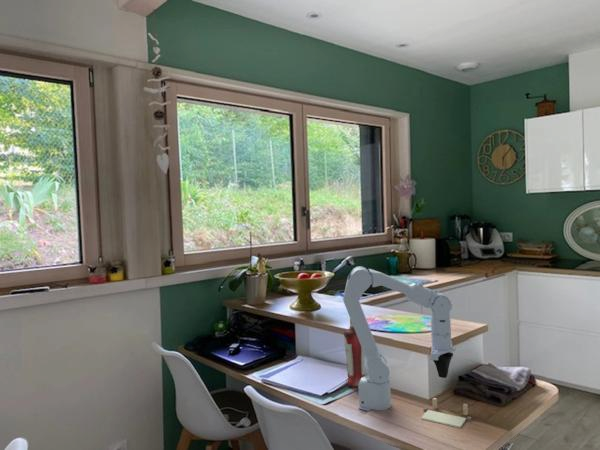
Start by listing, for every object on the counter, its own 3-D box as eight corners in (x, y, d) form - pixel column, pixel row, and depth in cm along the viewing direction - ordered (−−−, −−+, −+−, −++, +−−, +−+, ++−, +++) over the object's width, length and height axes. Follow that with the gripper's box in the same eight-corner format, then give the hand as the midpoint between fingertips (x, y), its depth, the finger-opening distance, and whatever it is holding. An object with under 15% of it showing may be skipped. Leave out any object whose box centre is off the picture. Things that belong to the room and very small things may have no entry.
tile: (428, 409, 133) (428, 411, 133) (420, 417, 128) (420, 420, 128) (467, 417, 126) (467, 420, 126) (460, 426, 121) (460, 429, 121)
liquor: (344, 382, 161) (340, 305, 161) (364, 380, 162) (360, 304, 161) (348, 390, 154) (344, 309, 154) (369, 388, 155) (365, 308, 154)
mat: (411, 423, 127) (411, 410, 127) (431, 403, 140) (430, 391, 140) (465, 436, 119) (465, 422, 119) (481, 413, 132) (480, 400, 132)
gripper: (446, 340, 128) (448, 387, 128) (461, 328, 140) (463, 371, 140) (422, 337, 132) (424, 382, 133) (438, 326, 144) (440, 368, 144)
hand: (443, 376), depth 137 cm, fingers closed
